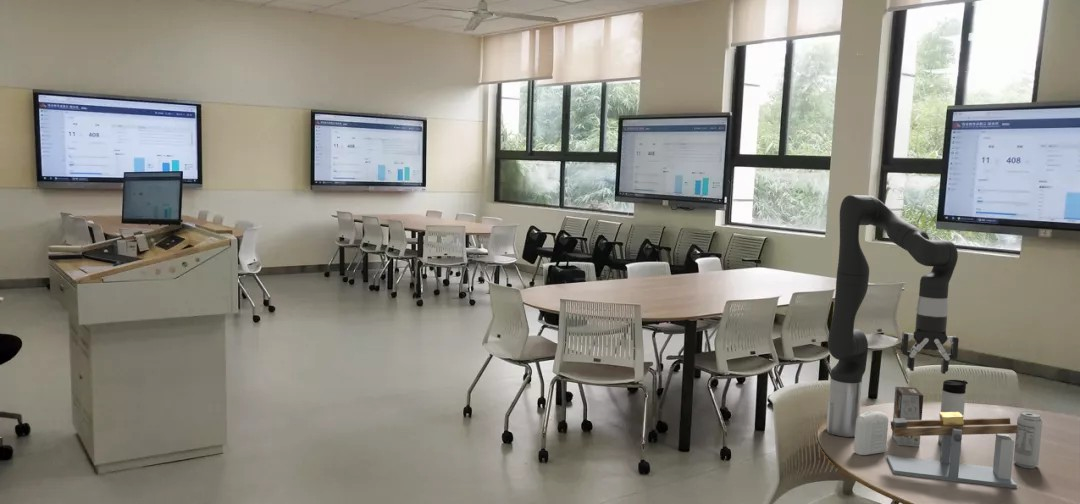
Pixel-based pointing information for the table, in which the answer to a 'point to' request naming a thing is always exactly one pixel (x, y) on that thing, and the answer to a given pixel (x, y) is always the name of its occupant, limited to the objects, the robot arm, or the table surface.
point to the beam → (969, 428)
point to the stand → (961, 472)
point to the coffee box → (907, 412)
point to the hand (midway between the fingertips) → (927, 371)
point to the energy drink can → (1028, 439)
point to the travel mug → (953, 398)
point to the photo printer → (871, 433)
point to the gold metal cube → (951, 419)
